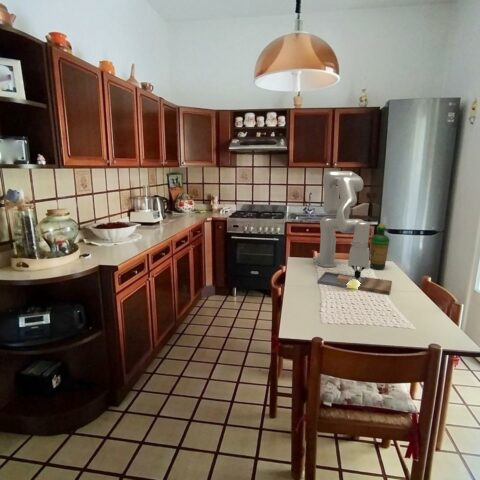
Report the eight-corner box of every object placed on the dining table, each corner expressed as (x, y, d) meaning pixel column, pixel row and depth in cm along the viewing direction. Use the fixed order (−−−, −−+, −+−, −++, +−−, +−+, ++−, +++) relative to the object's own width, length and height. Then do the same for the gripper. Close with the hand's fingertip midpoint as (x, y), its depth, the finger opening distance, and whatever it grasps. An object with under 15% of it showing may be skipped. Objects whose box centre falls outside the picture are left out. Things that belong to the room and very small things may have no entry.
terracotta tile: (336, 282, 186) (336, 277, 186) (338, 279, 192) (338, 274, 191) (347, 283, 184) (348, 279, 183) (349, 280, 189) (350, 276, 188)
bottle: (367, 269, 213) (371, 224, 207) (369, 264, 222) (373, 222, 216) (385, 271, 208) (390, 226, 202) (387, 267, 217) (391, 223, 211)
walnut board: (359, 290, 176) (360, 286, 175) (364, 280, 191) (364, 276, 191) (389, 295, 169) (389, 291, 169) (391, 284, 185) (391, 280, 185)
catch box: (317, 283, 185) (317, 280, 185) (325, 274, 201) (325, 271, 201) (359, 290, 176) (360, 287, 175) (364, 280, 191) (364, 277, 191)
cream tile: (347, 283, 184) (348, 279, 183) (349, 280, 189) (350, 276, 188) (359, 285, 181) (360, 281, 180) (361, 282, 186) (361, 278, 186)
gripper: (344, 244, 180) (341, 277, 184) (374, 248, 174) (371, 282, 177) (346, 242, 187) (344, 274, 191) (376, 245, 180) (372, 278, 184)
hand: (357, 277), depth 184 cm, fingers closed
